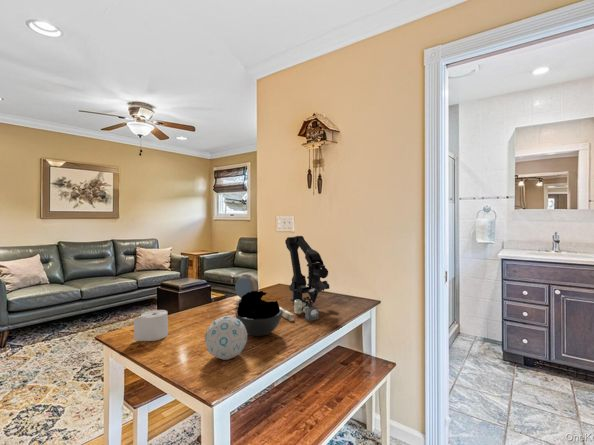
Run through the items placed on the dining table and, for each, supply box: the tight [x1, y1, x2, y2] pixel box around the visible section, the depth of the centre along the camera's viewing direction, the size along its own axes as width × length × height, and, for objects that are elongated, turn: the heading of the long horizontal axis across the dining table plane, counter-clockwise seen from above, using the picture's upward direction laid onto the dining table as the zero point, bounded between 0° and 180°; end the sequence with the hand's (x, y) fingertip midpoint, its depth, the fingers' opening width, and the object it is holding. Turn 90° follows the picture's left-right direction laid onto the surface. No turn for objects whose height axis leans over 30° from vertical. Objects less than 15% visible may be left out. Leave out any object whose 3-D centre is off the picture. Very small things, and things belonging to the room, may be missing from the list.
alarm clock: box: [233, 273, 259, 306], centre depth 179 cm, size 14×10×18 cm
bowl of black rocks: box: [235, 290, 283, 337], centre depth 133 cm, size 20×20×19 cm
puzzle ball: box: [204, 315, 248, 361], centre depth 112 cm, size 15×15×15 cm
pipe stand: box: [302, 306, 320, 322], centre depth 153 cm, size 8×6×6 cm
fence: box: [279, 306, 295, 322], centre depth 158 cm, size 18×2×3 cm, turn 32°
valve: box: [293, 296, 314, 315], centre depth 165 cm, size 7×7×12 cm
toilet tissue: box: [133, 309, 169, 342], centre depth 131 cm, size 11×12×10 cm
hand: (313, 302), depth 170 cm, fingers closed
